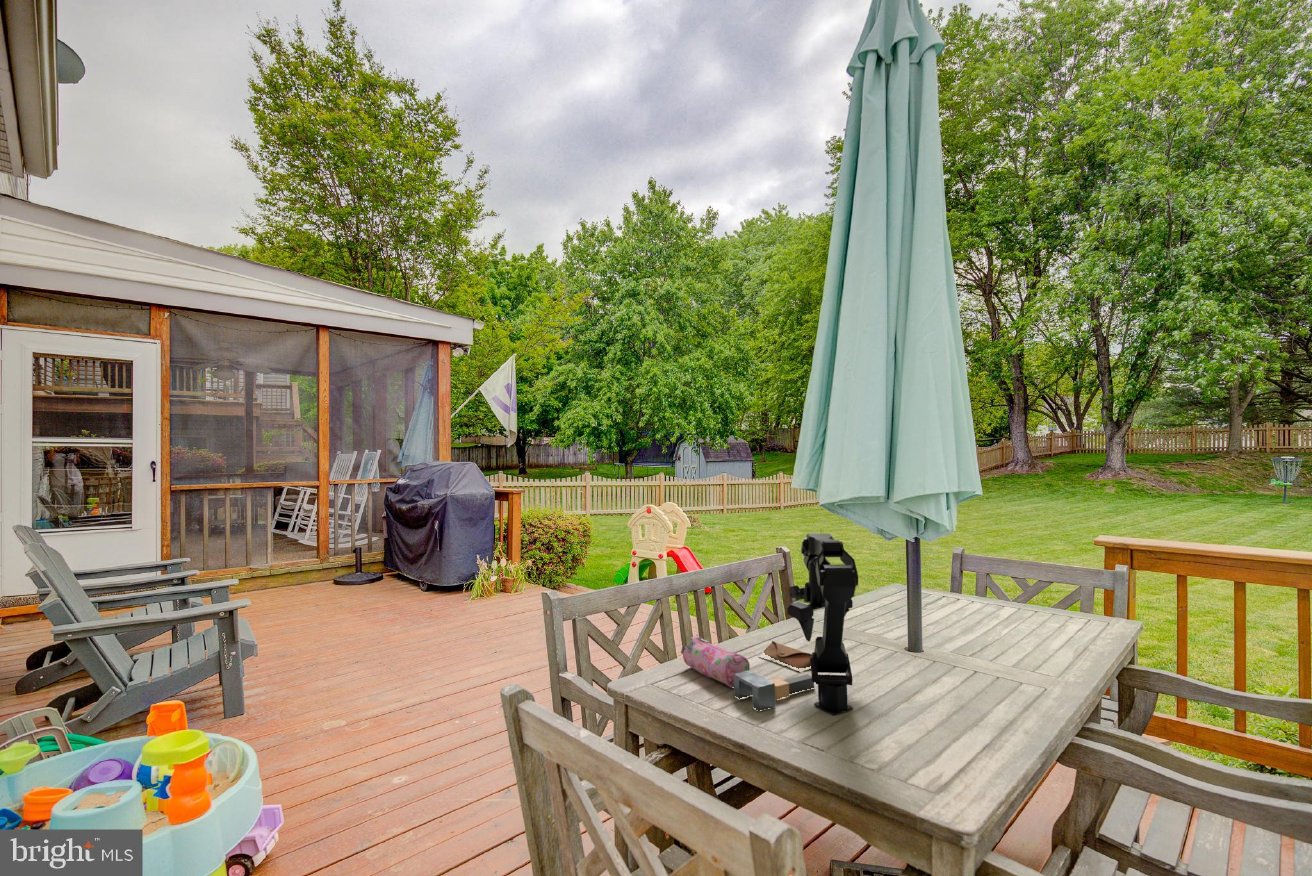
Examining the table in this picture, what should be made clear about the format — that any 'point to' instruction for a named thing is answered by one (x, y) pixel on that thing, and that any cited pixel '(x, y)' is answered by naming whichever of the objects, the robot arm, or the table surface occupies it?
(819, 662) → the robot arm
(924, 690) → the table surface
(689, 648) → the pencil case
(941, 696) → the table surface
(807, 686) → the plug
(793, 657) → the sunglasses case
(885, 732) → the table surface
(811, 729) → the table surface
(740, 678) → the grey arch block
